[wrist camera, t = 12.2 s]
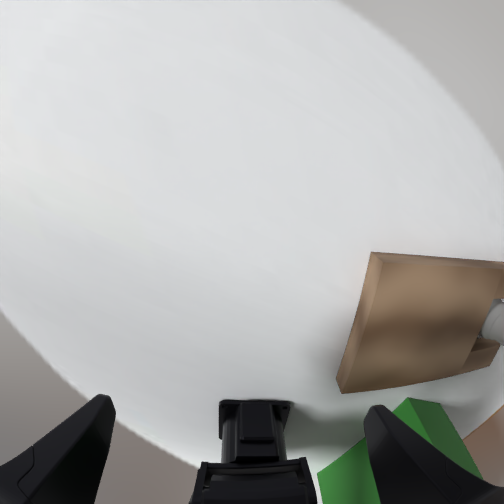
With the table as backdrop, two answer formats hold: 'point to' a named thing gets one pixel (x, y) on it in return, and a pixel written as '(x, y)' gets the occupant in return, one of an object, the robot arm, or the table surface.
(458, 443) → the green open box
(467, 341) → the notched board
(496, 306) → the rook chess piece
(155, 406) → the table surface
